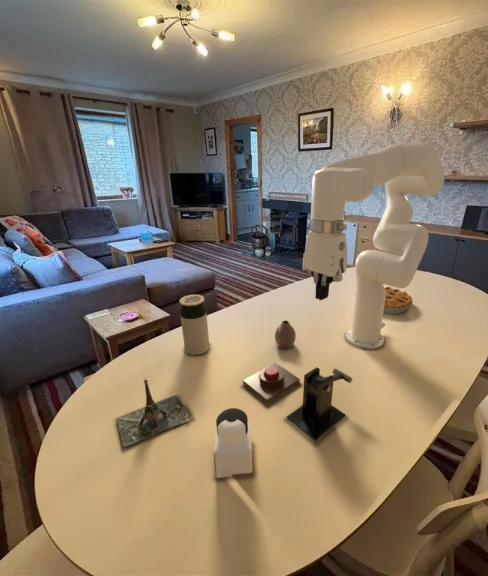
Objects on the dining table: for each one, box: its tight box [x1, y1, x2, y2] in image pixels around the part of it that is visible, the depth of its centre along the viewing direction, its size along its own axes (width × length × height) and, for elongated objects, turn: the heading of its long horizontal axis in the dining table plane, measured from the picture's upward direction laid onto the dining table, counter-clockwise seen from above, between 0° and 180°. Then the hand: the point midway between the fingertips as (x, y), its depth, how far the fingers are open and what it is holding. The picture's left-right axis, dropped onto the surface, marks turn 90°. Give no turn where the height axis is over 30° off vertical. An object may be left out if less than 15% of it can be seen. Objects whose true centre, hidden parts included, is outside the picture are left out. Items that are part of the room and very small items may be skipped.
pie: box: [383, 286, 413, 315], centre depth 132 cm, size 22×22×5 cm
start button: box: [264, 365, 278, 379], centre depth 83 cm, size 4×4×2 cm
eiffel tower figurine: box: [116, 378, 191, 448], centre depth 71 cm, size 15×10×13 cm
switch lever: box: [310, 368, 353, 390], centre depth 73 cm, size 12×5×2 cm, turn 133°
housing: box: [242, 362, 301, 404], centre depth 84 cm, size 12×10×4 cm
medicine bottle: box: [213, 407, 253, 479], centre depth 61 cm, size 7×7×12 cm
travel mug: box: [178, 294, 210, 356], centre depth 98 cm, size 8×8×18 cm
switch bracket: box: [286, 366, 346, 442], centre depth 71 cm, size 11×9×13 cm
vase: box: [274, 320, 297, 349], centre depth 102 cm, size 7×7×9 cm
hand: (321, 297), depth 79 cm, fingers closed
